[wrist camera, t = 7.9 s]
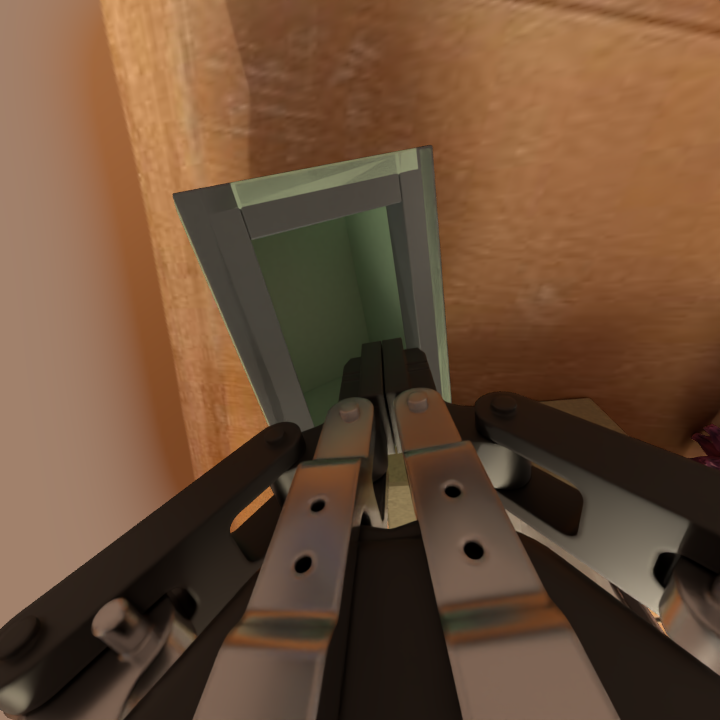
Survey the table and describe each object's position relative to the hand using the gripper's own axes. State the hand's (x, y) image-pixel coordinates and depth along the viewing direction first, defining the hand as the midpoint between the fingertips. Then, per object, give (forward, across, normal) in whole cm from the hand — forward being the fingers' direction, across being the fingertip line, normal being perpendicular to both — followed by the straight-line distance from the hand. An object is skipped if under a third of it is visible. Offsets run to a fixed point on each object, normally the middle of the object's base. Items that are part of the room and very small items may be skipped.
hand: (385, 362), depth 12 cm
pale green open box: (+9, -1, 0) cm, 9 cm away
